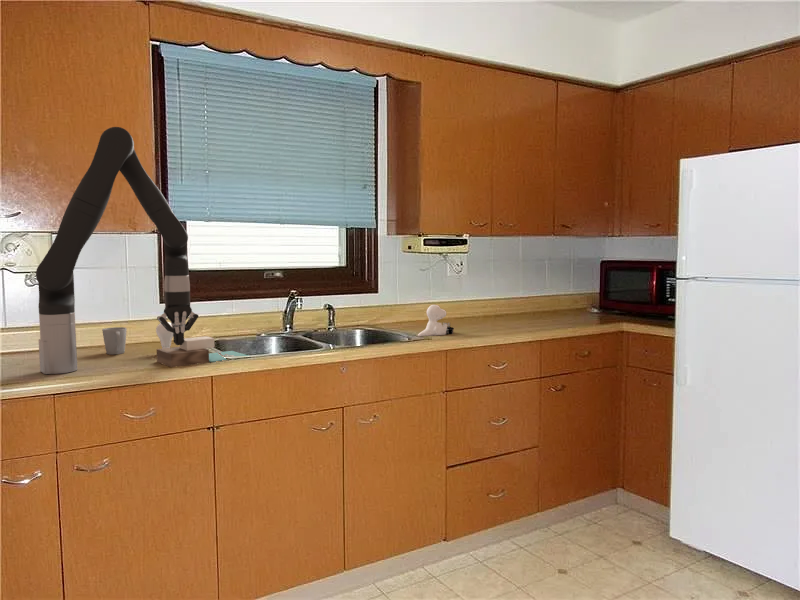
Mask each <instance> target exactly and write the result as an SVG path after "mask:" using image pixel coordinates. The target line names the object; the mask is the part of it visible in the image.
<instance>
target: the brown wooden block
mask: <svg viewBox="0 0 800 600" xmlns="http://www.w3.org/2000/svg"><path fill="white" fill-rule="evenodd" d="M209 353H210V350H209V348H206V349H197V350H188V351H187V350H184V349H181V348H180V346H174V347H173V346H172V347H170V348H164V349H162V348H157V349H156V363H159V364H162V365H164V364H165V366H167V367H169V368H176V366H177V367H185V366H190V365H191V364H192V365H198V364H197V363H200V364H206V363H205V362H208V363H210V362H209ZM184 365H185V366H184ZM192 365H191V366H192Z"/></svg>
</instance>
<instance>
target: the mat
mask: <svg viewBox="0 0 800 600" xmlns="http://www.w3.org/2000/svg"><path fill="white" fill-rule="evenodd" d="M218 352H219V351H218ZM218 352H212V353H211V352H209V362H208V363H211V362H212V363H217V362H216V361H220V362H223V361H222V360H227V359H226V358H224V357H222V356H221V355H219V354H218ZM220 352H221V354H222V355H225V354H228V355H234V356H250V355H249V354H244V353H241V352H237V351H234V350H227V351H220ZM220 352H219V353H220ZM226 356H227V355H226Z"/></svg>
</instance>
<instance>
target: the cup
mask: <svg viewBox="0 0 800 600" xmlns="http://www.w3.org/2000/svg"><path fill="white" fill-rule="evenodd" d="M102 337H103V342H104V347H105V348H104V349H105V352H106V355H112V356H113V355H122V354H124V353H125V352H126V351H125V350H126V343H127V327H123V326H121V327H116V326H115V327H113V326H112V327H106V328H102Z"/></svg>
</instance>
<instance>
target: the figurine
mask: <svg viewBox="0 0 800 600" xmlns="http://www.w3.org/2000/svg"><path fill="white" fill-rule="evenodd" d="M426 316H427V318H428V321H427V324H426V327H425V329H423V330H422V331H421V332H420V331H419V333H418V334H417V336H418V337H432V336H446V335H453V334H454V330H455V329H454V328H455V327H451V323H450V322H445V321H444V322H439V320H442V319H444V318H446V316H447V311H446V310H445V309H443V308H441V307H440V305H437V304H431V305H429V307H428V306H427V309H426Z"/></svg>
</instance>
